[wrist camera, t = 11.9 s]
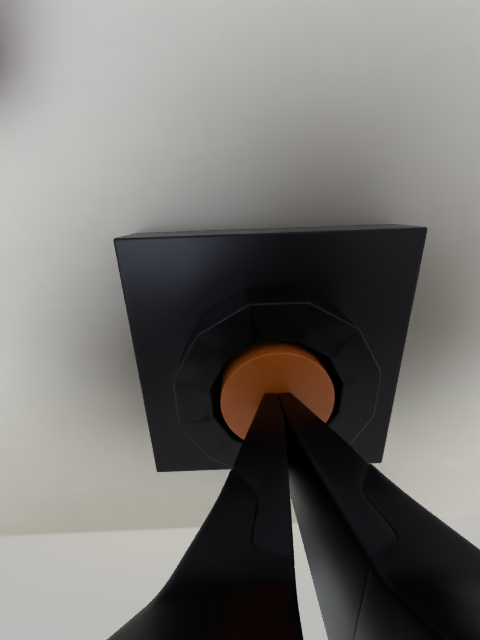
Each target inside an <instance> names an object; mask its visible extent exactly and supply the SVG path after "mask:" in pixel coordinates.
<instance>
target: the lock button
mask: <svg viewBox="0 0 480 640" xmlns="http://www.w3.org/2000/svg"><path fill="white" fill-rule="evenodd" d="M285 392H290V393H292V394H293V395H294V396H295V397H296V398H298V399H299V400H300V401H301V402H302V403H303V404H304V405H305V406H307V407H308V408H309V409H310V410H311V411H312V412H313V413H314V414H316V415H317V416H318V417H319V418H320V419H321V420H322V421H323V422H325V423H326V422H327V420H328V419H329V417H330V415H331V413H332V410H333V406H334V400H335V393H334V387H333V384H332V381H331V379H330V377H329V375H328V373H327V372H326V370H325V368H324V366H323V365H322V363H321V361H320V359H319V358H318V356H317V354H316V352H315V351H314V349H312V348H310V347H308V346H306V345H304V344H302V343H300V342H298V341H275V342H258V343H256V344H254V345H253V346H251V347H249V348H247V349H245V350H244V351H242V352H240V353H238V354H237V355H235V356H233V357H231V358H229V359H228V360H227V361H226V363H225V365H224V367H223V371H222V385H221V398H220V406H221V412H222V415H223V418H224V420H225V422H226V423H227V425H228V426H229V428H230V429H231V430H232V431H233V432H234V433H235V434H236V435H237V436H239V437H240V438H242V439H243V440H244V439H245V436H246V434H247V432H248V429H249V427H250V425H251V422H252V420H253V418H254V415H255V413H256V411H257V409H258V406H259V404H260V402H261V399H262V397H263V395H264V394H265V393H276V394H277V395H278V393H285Z"/></svg>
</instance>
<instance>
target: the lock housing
mask: <svg viewBox="0 0 480 640" xmlns="http://www.w3.org/2000/svg"><path fill="white" fill-rule="evenodd" d="M426 234H427V228H426V227H420V226H408V225H397V224H380V225H352V226H324V227H296V228H268V229H241V230H213V231H185V232H157V233H135V234H131V235H127V236H122V237H118V238H115V239H114V246H115V251H116V256H117V262H118V267H119V272H120V278H121V283H122V288H123V294H124V299H125V304H126V309H127V315H128V320H129V325H130V331H131V336H132V341H133V347H134V352H135V357H136V363H137V368H138V373H139V378H140V384H141V389H142V394H143V400H144V405H145V410H146V416H147V421H148V426H149V431H150V437H151V442H152V447H153V453H154V458H155V463H156V469H157V472H171V471H196V470H220V469H232V467H233V464H234V462H235V460H236V457H237V455H238V453H239V450H240V448H241V446H242V443H243V441H244V440H243V439H242V438H240V437H239V436H237V435H236V434H235V433H234V432H233V431H232V430H231V429H230V428H229V426H228V425H227V423H226V422H225V420H224V418H223V415H222V412H221V406H220V398H221V385H222V371H223V367H224V365H225V363H226V361H227V360H228V359H229V358H231V357H233V356H235V355H237V354H238V353H240V352H242V351H244V350H245V349H247V348H249V347H251V346H253V345H254V344H256V343H258V342H275V341H298V342H300V343H302V344H304V345H306V346H308V347H310V348H312V349H314V351H315V352H316V354H317V356H318V358H319V359H320V361H321V363H322V365H323V366H324V368H325V370H326V372H327V373H328V375H329V377H330V379H331V381H332V384H333V387H334V393H335V400H334V406H333V410H332V413H331V415H330V417H329V419H328V420H327V422H326V424H327V425H328V426H329V427H330V428H331V429H332V430H334V431H335V432H336V433H337V434H338V435H339V436H340V437H341V438H343V439H344V440H345V441H346V442H347V443H348V444H349V445H350V446H352V447H353V448H354V449H355V450H356V451H357V452H358V453H359V454H361V455H362V456H363V457H364V458H365V459H366V460H367V461H368V462H369V463H381V462H382V458H383V452H384V447H385V442H386V437H387V432H388V427H389V422H390V417H391V412H392V407H393V402H394V397H395V392H396V386H397V381H398V376H399V371H400V366H401V361H402V356H403V351H404V346H405V341H406V336H407V331H408V326H409V321H410V315H411V310H412V305H413V300H414V295H415V290H416V285H417V280H418V275H419V270H420V265H421V260H422V255H423V249H424V244H425V239H426Z"/></svg>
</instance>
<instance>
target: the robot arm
mask: <svg viewBox="0 0 480 640" xmlns="http://www.w3.org/2000/svg"><path fill="white" fill-rule="evenodd" d="M290 495H291V498H292V502H293V506H294V510H295V514H296V518H297V521H298V525H299V529H300V533H301V537H302V541H303V544H304V548H305V552H306V555H307V560H308V564H309V567H310V571H311V575H312V578H313V583H314V587H315V590H316V594H317V598H318V602H319V606H320V609H321V613H322V617H323V621H324V625H325V629H326V633H327V636H328V640H480V550H479V549H478V548H477V547H475V546H474V545H473V544H472V543H470V542H469V541H468V540H466V539H465V538H464V537H462V536H461V535H460V534H458V533H457V532H456V531H454V530H453V529H452V528H450V527H449V526H447V525H446V524H445V523H444V522H442V521H441V520H440V519H438V518H437V517H436V516H434V515H433V514H432V513H430V512H429V511H428V510H427V509H425V508H424V507H423V506H421V505H420V504H419V503H417V502H416V501H415V500H414V499H412V498H411V497H410V496H409V495H407V494H406V493H405V492H403V491H402V490H401V489H400V488H399V487H397V486H396V485H395V484H394V483H393V482H391V481H390V480H389V479H388V478H387V477H386V476H384V475H383V474H382V473H381V472H380V471H379V470H378V469H376V468H375V467H374V466H373V465H372V464H369V462H368V461H367V460H366V459H365V458H364V457H363V456H362V455H361V454H359V453H358V452H357V451H356V450H355V449H354V448H353V447H352V446H350V445H349V444H348V443H347V442H346V441H345V440H344V439H343V438H341V437H340V436H339V435H338V434H337V433H336V432H335V431H334V430H332V429H331V428H330V427H329V426H328V425H327V424H326V423H325V422H323V421H322V420H321V419H320V418H319V417H318V416H317V415H316V414H314V413H313V412H312V411H311V410H310V409H309V408H308V407H307V406H305V405H304V404H303V403H302V402H301V401H300V400H299V399H298V398H296V397H295V396H294V395H293V394H292V393H290V392H285V393H278V395H277V394H276V393H265V394H264V395H263V397H262V399H261V402H260V404H259V406H258V409H257V411H256V413H255V415H254V418H253V420H252V422H251V425H250V427H249V429H248V432H247V434H246V436H245V439H244V441H243V443H242V446H241V448H240V450H239V453H238V455H237V457H236V460H235V462H234V464H233V467H232V470H231V471H230V473H229V475H228V478H227V480H226V482H225V484H224V486H223V489H222V491H221V493H220V495H219V497H218V499H217V501H216V502H215V504H214V506H213V508H212V509H211V511H210V513H209V515H208V517H207V518H206V520H205V522H204V523H203V525H202V527H201V528H200V530H199V532H198V533H197V535H196V536H195V538H194V540H193V541H192V543H191V545H190V547H189V548H188V550H187V551H186V553H185V555H184V556H183V558H182V559H181V561H180V563H179V565H178V566H177V568H176V569H175V571H174V573H173V574H172V576H171V577H170V579H169V580H168V582H167V583H166V585H165V586H164V587H163V589H162V590H161V591H160V592H159V593H158V595H157V596H156V597H155V598H154V599H153V600H152V601H151V602H150V603H149V604H148V605H147V606H146V607H145V608H144V609H142V610H141V611H140V612H139V613H138V614H137V615H135V616H134V617H133V618H132V619H131V620H130V621H128V622H127V623H126V624H125V625H124V626H123V627H121V628H120V629H119V630H118V631H117V632H115V633H114V634H113V635H112V636H111V637H110V638H109V639H107V640H303V635H302V628H301V622H300V615H299V609H298V601H297V592H296V580H295V568H294V550H293V536H292V535H293V534H292V519H291V503H290Z"/></svg>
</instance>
